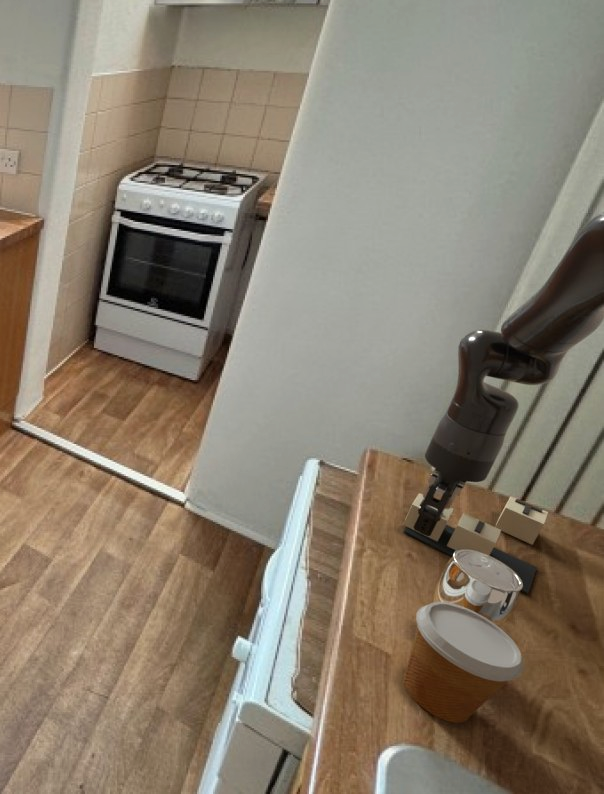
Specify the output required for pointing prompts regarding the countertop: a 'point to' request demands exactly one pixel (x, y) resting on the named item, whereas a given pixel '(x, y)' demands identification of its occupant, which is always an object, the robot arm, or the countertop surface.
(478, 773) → the countertop surface
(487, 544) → the tile
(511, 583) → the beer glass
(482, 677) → the disposable coffee cup
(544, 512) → the tile
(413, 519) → the tile
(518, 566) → the word mat
